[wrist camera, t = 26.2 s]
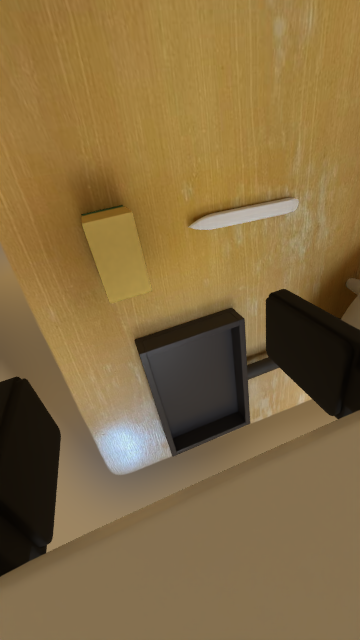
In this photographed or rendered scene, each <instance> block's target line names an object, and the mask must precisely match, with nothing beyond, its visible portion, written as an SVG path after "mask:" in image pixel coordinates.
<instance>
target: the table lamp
mask: <svg viewBox="0 0 360 640" xmlns="http://www.w3.org/2000/svg"><path fill="white" fill-rule="evenodd" d="M346 287H347V288H349V289H350V290H351V291H353V292H354V293H356V294H357V295H358V296H357V297H356V298H355V299H354V300H353V302H352V303H351V305H350V306H349V307H348V309H347V310H346V312H345V313H344V315H343V316H342V318H341V320H343V321H344V322H346V323H348V324H350V325H352V326H353V327H355V328H357V329H359V330H360V280H359V279H354V278H350V279H349V280H348V281H347V282H346Z"/></svg>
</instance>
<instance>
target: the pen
mask: <svg viewBox="0 0 360 640" xmlns="http://www.w3.org/2000/svg"><path fill="white" fill-rule="evenodd" d="M298 204H299V201H298V199H296V198H286V199H281V200H276V201H271V202H266V203H261V204H256V205H251V206H246V207H241V208H236V209H232V210H227V211H222V212H218V213H213V214H210V215H207V216H204V217H202V218H200V219H199V220H197V221H195V222H194V223H192V224H191V225H190V226H189V227H190V228H193V229H199V230H211V229H216V228H221V227H226V226H231V225H235V224H240V223H245V222H250V221H254V220H259V219H264V218H268V217H273V216H277V215H282V214H286V213H290V212H293V211H295V210H296V209H297V207H298Z"/></svg>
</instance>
